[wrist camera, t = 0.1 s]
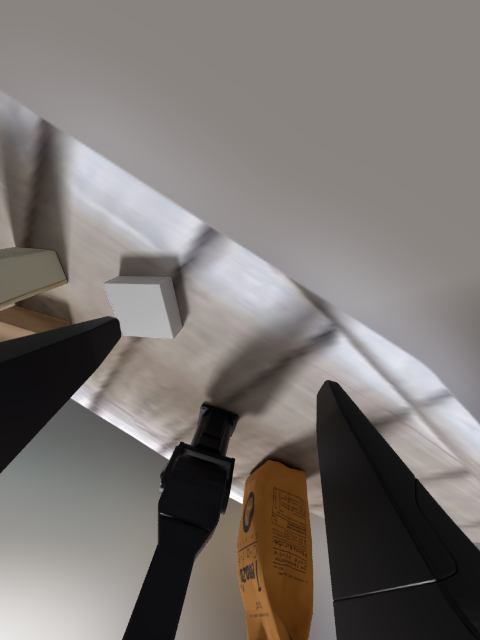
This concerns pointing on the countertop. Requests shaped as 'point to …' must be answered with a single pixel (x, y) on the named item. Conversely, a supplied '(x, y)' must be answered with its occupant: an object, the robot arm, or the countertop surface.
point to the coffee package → (276, 554)
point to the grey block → (145, 305)
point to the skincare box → (28, 273)
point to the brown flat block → (26, 323)
